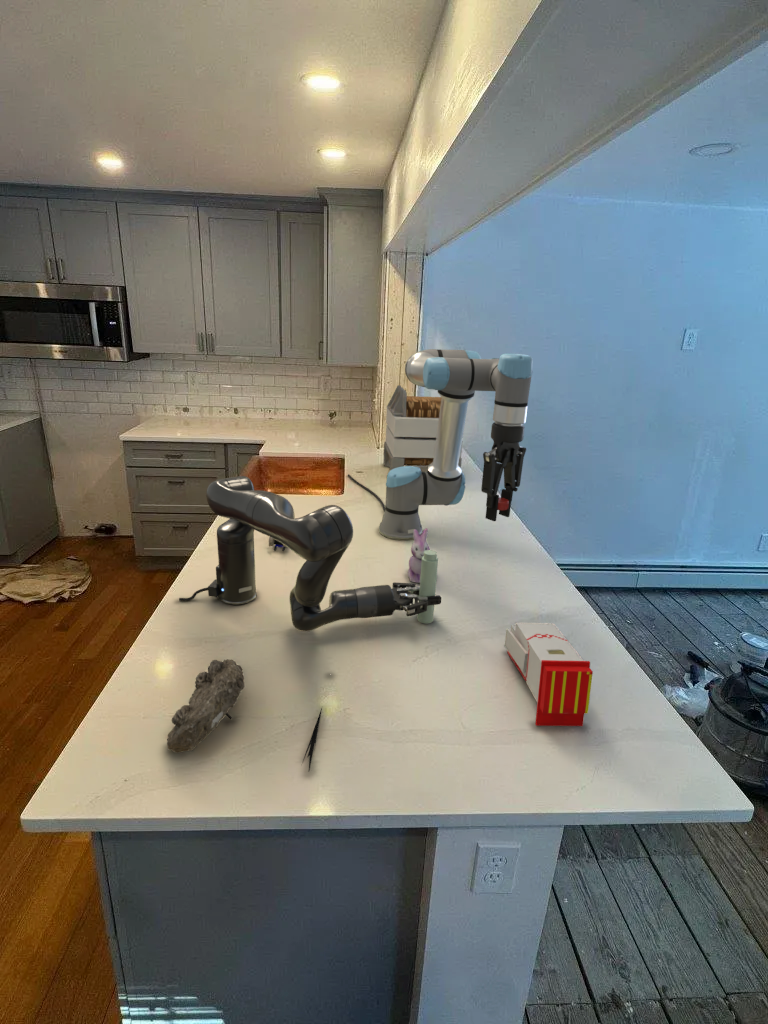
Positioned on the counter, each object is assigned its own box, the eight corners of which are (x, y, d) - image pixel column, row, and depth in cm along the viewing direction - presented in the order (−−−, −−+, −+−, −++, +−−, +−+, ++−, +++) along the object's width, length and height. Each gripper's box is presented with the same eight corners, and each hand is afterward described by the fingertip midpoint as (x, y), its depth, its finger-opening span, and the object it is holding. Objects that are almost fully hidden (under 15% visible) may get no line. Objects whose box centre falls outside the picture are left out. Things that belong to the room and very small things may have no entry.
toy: (550, 607, 134) (601, 667, 105) (545, 659, 137) (594, 732, 108) (499, 606, 134) (537, 666, 104) (495, 659, 137) (530, 731, 107)
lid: (497, 511, 135) (497, 504, 135) (485, 505, 139) (486, 498, 139) (512, 509, 137) (513, 502, 137) (500, 503, 141) (501, 496, 141)
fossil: (192, 660, 117) (244, 628, 112) (224, 691, 120) (276, 661, 115) (142, 746, 98) (202, 712, 93) (182, 779, 101) (242, 748, 96)
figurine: (415, 586, 162) (419, 538, 157) (398, 572, 170) (401, 525, 165) (443, 581, 166) (447, 533, 161) (425, 567, 175) (428, 521, 170)
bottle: (433, 616, 147) (438, 549, 141) (433, 624, 144) (438, 556, 137) (417, 614, 148) (422, 548, 141) (417, 622, 144) (422, 555, 137)
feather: (331, 679, 122) (336, 673, 122) (307, 777, 96) (313, 769, 95) (324, 675, 122) (329, 669, 121) (298, 772, 95) (304, 764, 95)
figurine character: (289, 557, 180) (295, 534, 194) (288, 536, 177) (294, 515, 190) (268, 557, 180) (275, 534, 193) (266, 536, 177) (274, 514, 190)
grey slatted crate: (382, 463, 289) (386, 382, 275) (445, 464, 293) (451, 384, 279) (390, 482, 257) (394, 392, 243) (460, 483, 261) (468, 394, 247)
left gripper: (380, 602, 132) (449, 595, 136) (365, 575, 145) (428, 569, 149) (379, 630, 134) (446, 622, 139) (364, 601, 147) (426, 595, 152)
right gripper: (518, 417, 139) (507, 506, 147) (471, 423, 129) (462, 520, 136) (544, 422, 134) (531, 514, 142) (497, 429, 123) (486, 529, 131)
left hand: (437, 595), depth 144 cm, fingers closed on bottle, 4 cm apart
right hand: (497, 517), depth 139 cm, fingers closed on lid, 4 cm apart
